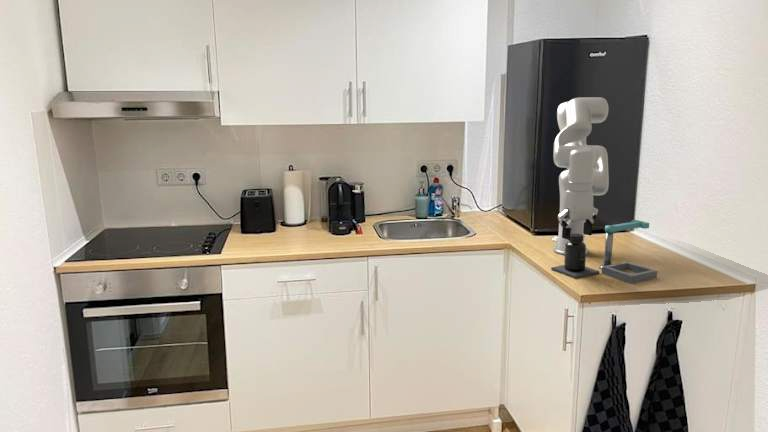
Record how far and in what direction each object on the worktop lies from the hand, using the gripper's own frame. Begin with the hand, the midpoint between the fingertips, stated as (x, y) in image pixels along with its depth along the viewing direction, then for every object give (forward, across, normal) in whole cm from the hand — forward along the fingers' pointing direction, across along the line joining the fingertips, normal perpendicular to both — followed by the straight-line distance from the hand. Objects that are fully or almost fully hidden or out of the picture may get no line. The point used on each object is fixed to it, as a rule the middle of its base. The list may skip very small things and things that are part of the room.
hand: (576, 236), depth 191 cm
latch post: (+12, -11, +4) cm, 17 cm away
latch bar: (-1, -18, +4) cm, 19 cm away
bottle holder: (+12, -11, +13) cm, 21 cm away
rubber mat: (+12, +1, +1) cm, 12 cm away
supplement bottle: (+12, +1, +1) cm, 12 cm away
